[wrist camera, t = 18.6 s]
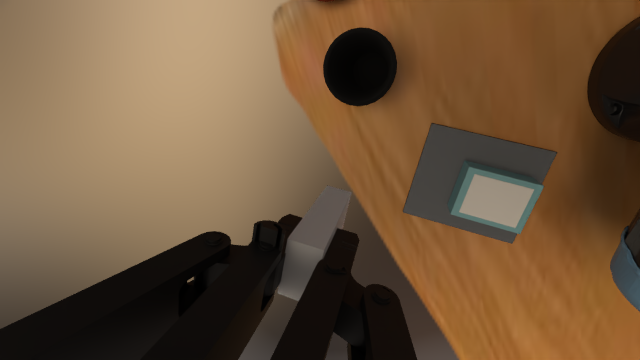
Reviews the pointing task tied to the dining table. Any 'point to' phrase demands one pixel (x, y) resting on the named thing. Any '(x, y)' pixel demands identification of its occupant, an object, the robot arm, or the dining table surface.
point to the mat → (445, 165)
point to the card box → (494, 196)
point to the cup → (360, 66)
